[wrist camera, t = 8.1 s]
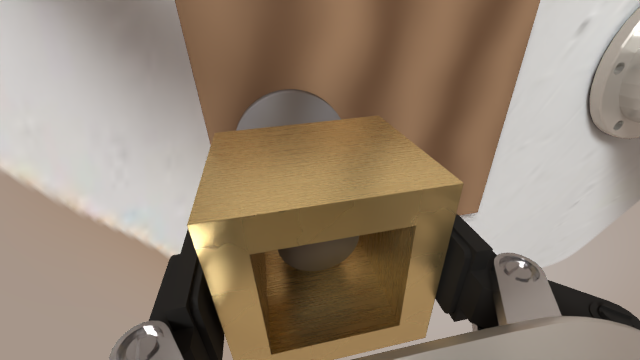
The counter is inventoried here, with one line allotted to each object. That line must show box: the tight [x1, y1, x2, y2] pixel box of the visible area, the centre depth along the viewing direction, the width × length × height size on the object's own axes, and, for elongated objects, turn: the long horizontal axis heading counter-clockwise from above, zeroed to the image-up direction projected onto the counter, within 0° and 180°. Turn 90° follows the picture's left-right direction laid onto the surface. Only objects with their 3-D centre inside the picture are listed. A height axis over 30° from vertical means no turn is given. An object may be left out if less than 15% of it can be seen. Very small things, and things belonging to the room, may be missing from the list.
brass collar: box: [187, 116, 464, 360], centre depth 11 cm, size 7×7×6 cm
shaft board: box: [175, 0, 540, 271], centre depth 17 cm, size 21×17×11 cm
